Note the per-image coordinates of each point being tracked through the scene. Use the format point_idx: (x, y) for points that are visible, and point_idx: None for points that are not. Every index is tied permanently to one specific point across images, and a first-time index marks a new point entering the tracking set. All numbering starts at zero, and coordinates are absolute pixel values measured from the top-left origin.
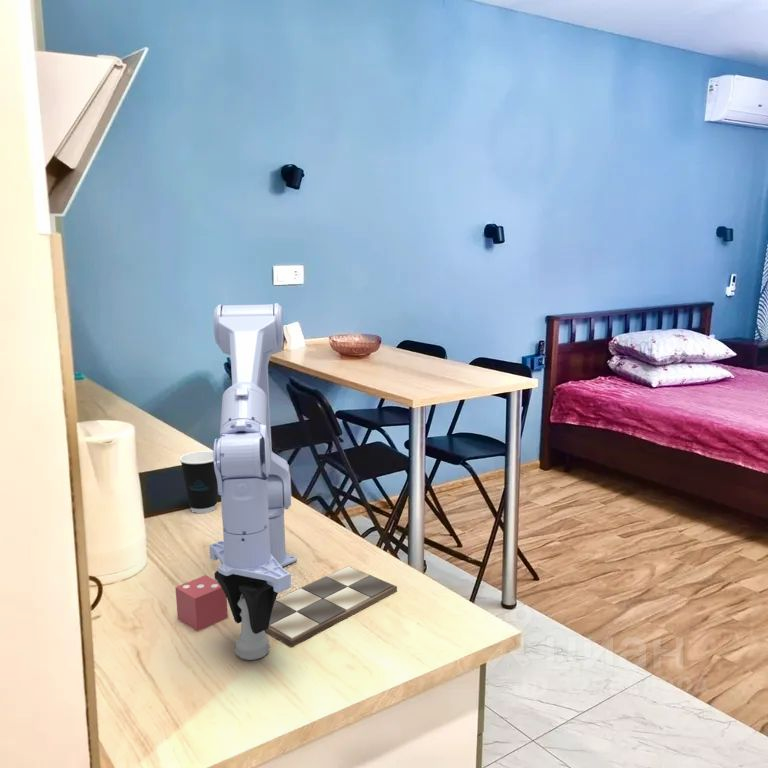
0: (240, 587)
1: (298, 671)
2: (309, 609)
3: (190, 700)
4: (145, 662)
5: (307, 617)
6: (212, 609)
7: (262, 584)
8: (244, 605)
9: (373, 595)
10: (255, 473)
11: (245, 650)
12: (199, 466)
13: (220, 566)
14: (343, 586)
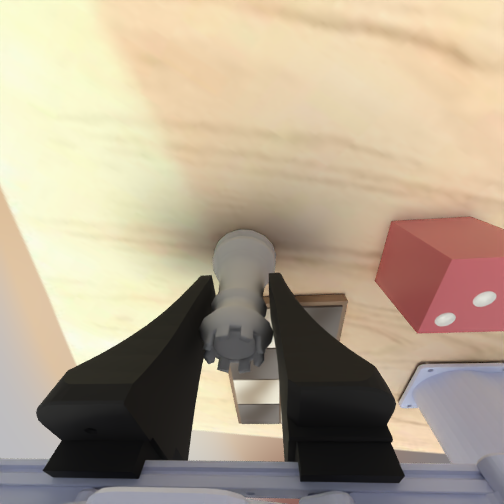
0: (112, 398)
1: (150, 272)
2: (269, 359)
3: (172, 62)
4: (406, 50)
5: None
6: (400, 272)
7: (61, 452)
8: (219, 318)
9: (238, 406)
10: None
11: (225, 241)
12: None
13: None
14: None
